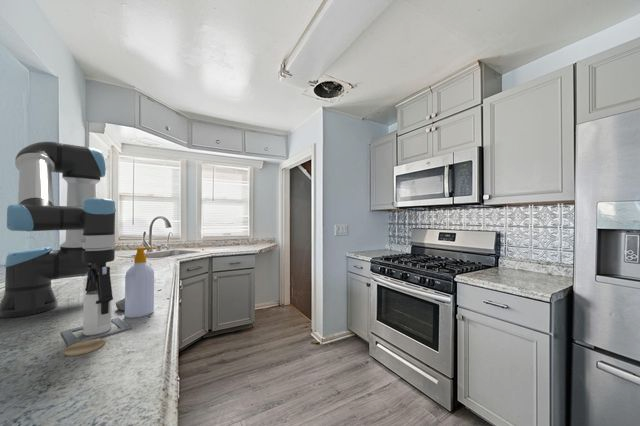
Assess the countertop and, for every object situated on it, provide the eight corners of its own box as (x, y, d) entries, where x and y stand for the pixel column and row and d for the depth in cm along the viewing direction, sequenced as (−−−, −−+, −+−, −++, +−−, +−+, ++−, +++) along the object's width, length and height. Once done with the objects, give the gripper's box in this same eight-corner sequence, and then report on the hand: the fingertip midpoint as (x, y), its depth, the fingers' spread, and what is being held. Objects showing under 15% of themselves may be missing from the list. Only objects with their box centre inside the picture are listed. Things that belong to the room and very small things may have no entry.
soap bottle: (151, 316, 90) (152, 248, 91) (120, 319, 88) (121, 249, 88) (159, 308, 99) (160, 246, 99) (130, 311, 96) (131, 246, 97)
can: (94, 337, 74) (95, 295, 74) (77, 335, 75) (77, 294, 76) (116, 328, 80) (117, 289, 81) (99, 326, 82) (100, 288, 82)
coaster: (61, 349, 67) (61, 346, 67) (100, 338, 73) (100, 336, 74) (66, 359, 62) (66, 356, 62) (108, 346, 69) (108, 344, 69)
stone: (143, 302, 106) (143, 288, 106) (151, 306, 101) (151, 291, 101) (113, 309, 98) (114, 294, 98) (121, 314, 93) (121, 298, 93)
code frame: (60, 332, 77) (60, 331, 77) (118, 318, 88) (118, 317, 88) (68, 346, 69) (69, 345, 69) (131, 329, 80) (131, 327, 80)
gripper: (74, 248, 84) (73, 314, 83) (92, 253, 68) (90, 334, 67) (104, 246, 89) (103, 308, 89) (126, 250, 74) (125, 325, 73)
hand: (97, 319), depth 78 cm, fingers open, 13 cm apart
